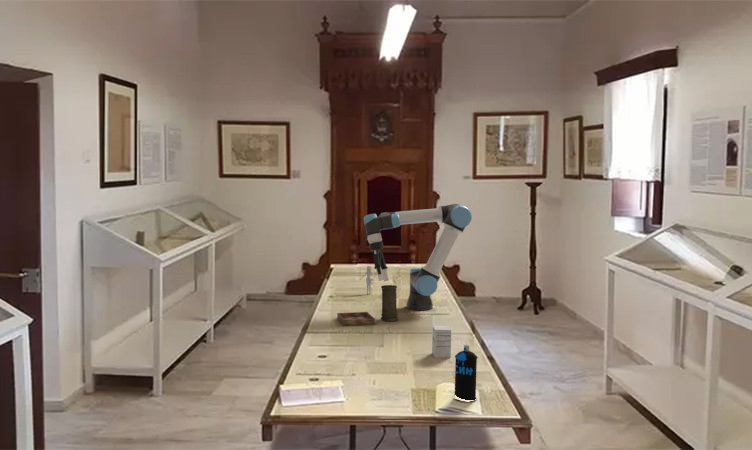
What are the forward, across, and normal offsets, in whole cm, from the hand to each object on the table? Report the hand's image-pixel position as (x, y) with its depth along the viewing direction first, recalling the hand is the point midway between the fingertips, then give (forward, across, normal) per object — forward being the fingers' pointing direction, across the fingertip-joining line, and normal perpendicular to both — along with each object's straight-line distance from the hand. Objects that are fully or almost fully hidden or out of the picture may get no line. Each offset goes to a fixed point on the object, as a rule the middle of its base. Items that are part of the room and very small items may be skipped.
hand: (384, 280), depth 391 cm
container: (+21, +2, -1) cm, 21 cm away
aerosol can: (+57, +112, +42) cm, 133 cm away
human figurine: (+2, -60, -23) cm, 65 cm away
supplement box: (+42, +60, +30) cm, 79 cm away
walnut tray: (+18, +10, -18) cm, 27 cm away
